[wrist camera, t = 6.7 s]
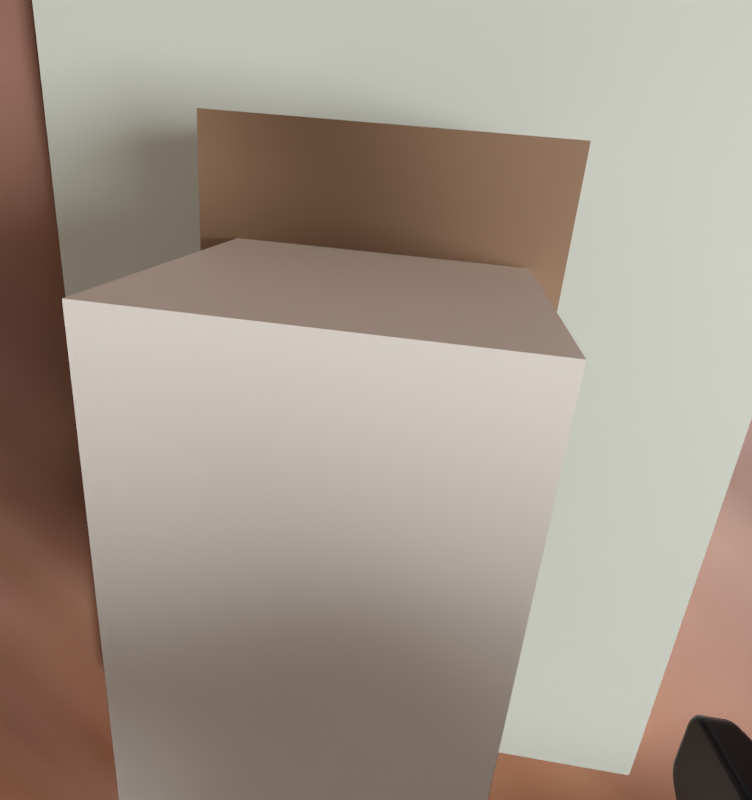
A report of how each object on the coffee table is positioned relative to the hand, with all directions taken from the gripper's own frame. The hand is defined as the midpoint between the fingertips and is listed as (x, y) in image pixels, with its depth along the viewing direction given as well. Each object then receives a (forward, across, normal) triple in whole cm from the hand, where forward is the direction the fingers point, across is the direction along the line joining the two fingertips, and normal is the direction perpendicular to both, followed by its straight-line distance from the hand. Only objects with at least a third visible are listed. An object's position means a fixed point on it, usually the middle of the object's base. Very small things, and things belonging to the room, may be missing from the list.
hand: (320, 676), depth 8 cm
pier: (+8, 0, -4) cm, 9 cm away
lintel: (+3, 0, 0) cm, 3 cm away
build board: (+8, 0, 0) cm, 8 cm away
